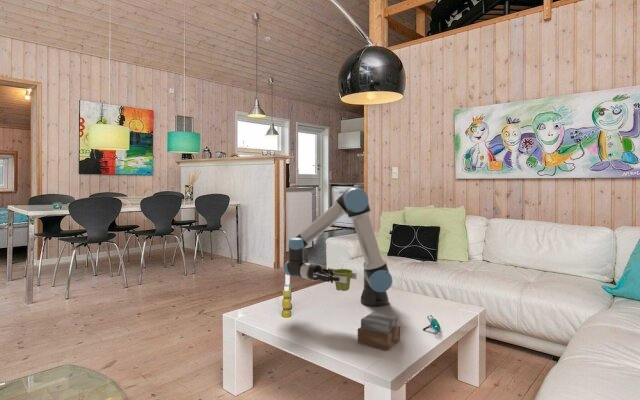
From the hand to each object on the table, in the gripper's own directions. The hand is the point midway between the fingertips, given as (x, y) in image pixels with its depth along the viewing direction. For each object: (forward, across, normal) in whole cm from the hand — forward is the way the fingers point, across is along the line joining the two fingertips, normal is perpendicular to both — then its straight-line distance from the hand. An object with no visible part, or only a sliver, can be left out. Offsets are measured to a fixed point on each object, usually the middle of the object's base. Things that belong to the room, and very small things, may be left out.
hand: (351, 278), depth 183 cm
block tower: (+19, +10, -22) cm, 31 cm away
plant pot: (-5, 0, -6) cm, 8 cm away
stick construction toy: (+33, -16, -22) cm, 43 cm away
